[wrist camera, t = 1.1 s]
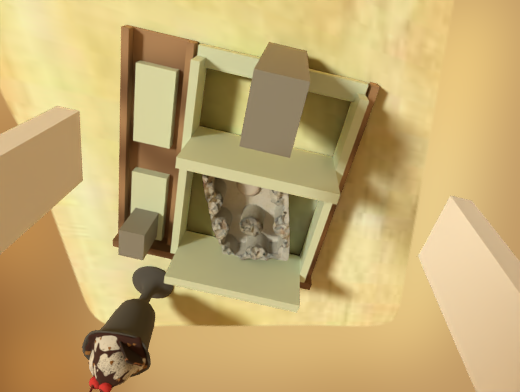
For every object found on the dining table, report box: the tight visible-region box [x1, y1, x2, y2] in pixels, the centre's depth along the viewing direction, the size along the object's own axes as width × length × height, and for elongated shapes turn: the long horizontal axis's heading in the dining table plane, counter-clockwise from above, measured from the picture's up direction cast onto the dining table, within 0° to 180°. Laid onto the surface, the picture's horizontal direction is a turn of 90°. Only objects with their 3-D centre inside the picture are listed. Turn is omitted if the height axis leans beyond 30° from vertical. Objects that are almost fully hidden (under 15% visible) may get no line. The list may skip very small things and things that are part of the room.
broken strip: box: [119, 60, 179, 260], centre depth 34 cm, size 18×3×5 cm, turn 168°
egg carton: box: [202, 175, 290, 261], centre depth 35 cm, size 11×8×4 cm
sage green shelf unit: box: [164, 42, 369, 313], centre depth 30 cm, size 21×14×12 cm, turn 168°
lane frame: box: [113, 25, 380, 290], centre depth 35 cm, size 21×21×2 cm
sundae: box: [82, 267, 173, 392], centre depth 38 cm, size 7×7×15 cm
